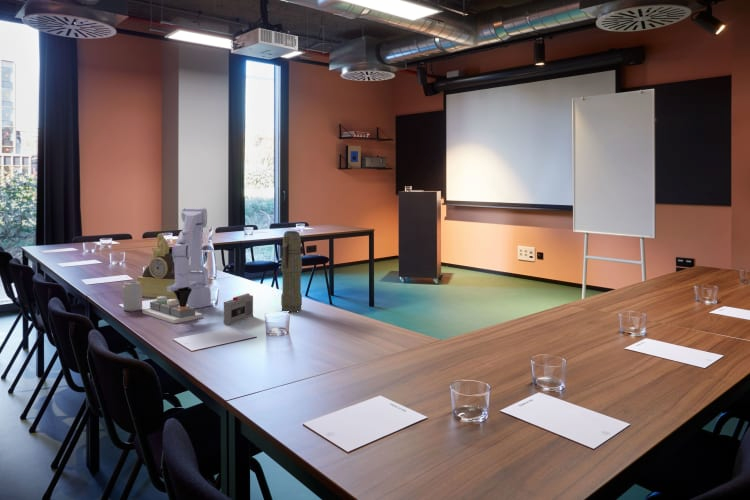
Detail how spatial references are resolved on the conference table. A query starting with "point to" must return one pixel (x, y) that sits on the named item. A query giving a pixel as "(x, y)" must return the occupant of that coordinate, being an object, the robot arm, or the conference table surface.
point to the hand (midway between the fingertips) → (182, 306)
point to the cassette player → (238, 309)
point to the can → (132, 296)
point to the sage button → (161, 299)
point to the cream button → (172, 302)
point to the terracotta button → (182, 307)
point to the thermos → (291, 272)
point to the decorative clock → (159, 272)
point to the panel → (171, 312)
